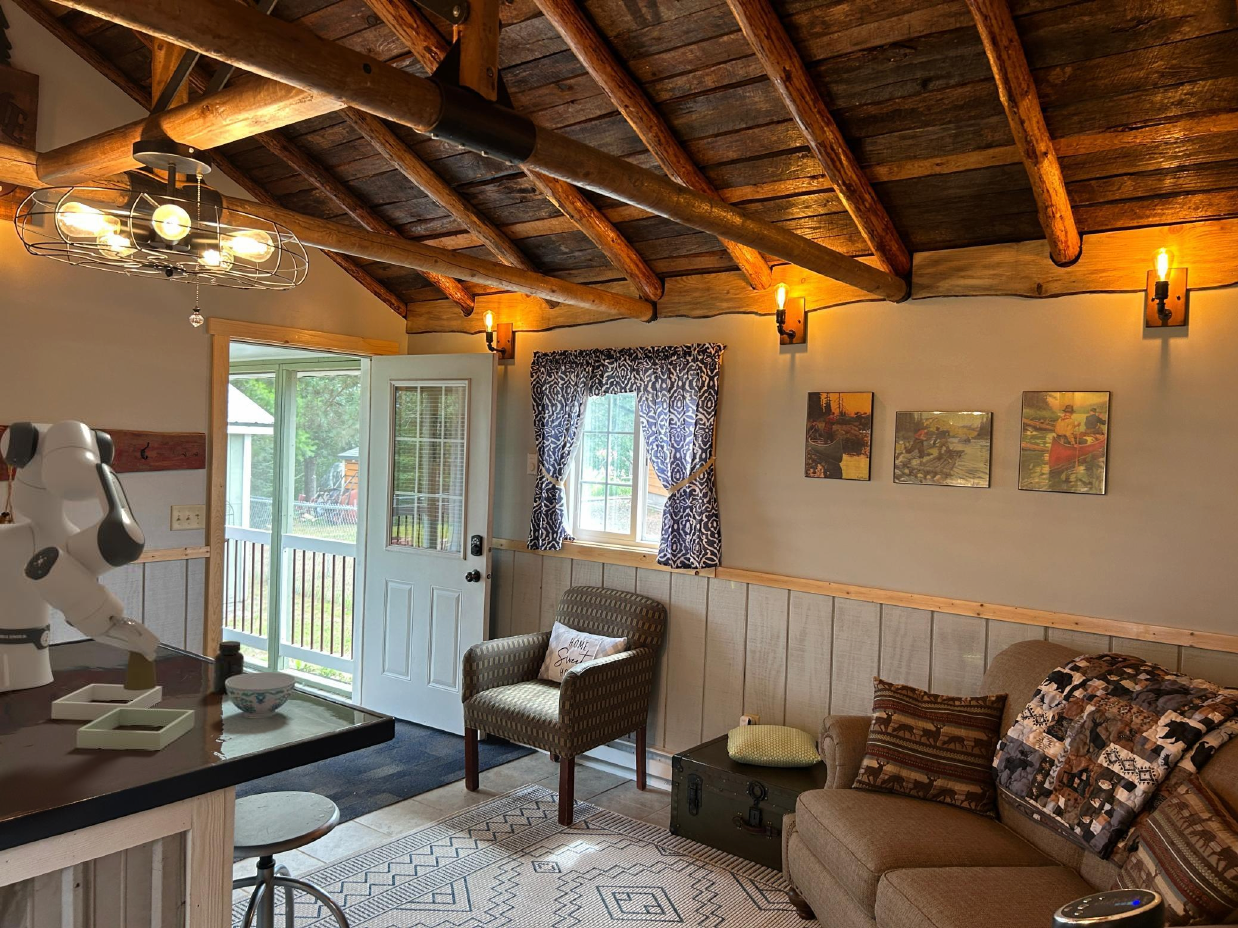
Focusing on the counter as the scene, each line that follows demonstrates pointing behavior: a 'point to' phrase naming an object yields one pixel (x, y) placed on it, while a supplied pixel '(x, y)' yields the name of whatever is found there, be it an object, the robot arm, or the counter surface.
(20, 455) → the robot arm
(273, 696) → the chinaware
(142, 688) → the cork
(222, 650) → the supplement bottle
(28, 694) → the counter surface
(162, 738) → the sage bin
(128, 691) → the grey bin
